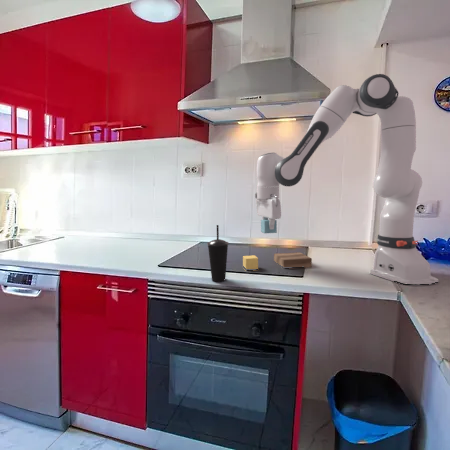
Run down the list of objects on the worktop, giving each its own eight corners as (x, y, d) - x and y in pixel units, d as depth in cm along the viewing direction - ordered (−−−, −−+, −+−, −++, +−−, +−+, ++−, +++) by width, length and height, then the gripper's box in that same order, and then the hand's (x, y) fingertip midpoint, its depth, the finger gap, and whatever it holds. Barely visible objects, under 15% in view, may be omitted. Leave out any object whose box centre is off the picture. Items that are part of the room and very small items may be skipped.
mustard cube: (258, 270, 127) (258, 258, 127) (246, 271, 126) (245, 258, 126) (254, 267, 132) (254, 255, 131) (243, 267, 131) (242, 256, 131)
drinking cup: (206, 283, 111) (205, 226, 109) (209, 277, 119) (207, 223, 116) (228, 283, 111) (227, 226, 108) (229, 276, 119) (228, 223, 116)
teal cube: (276, 232, 128) (276, 220, 128) (264, 233, 127) (264, 221, 127) (272, 231, 133) (272, 219, 133) (261, 231, 132) (260, 219, 132)
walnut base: (311, 267, 131) (311, 258, 130) (283, 269, 129) (283, 260, 128) (299, 261, 142) (299, 252, 142) (273, 262, 140) (273, 253, 140)
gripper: (285, 194, 119) (285, 230, 120) (267, 193, 139) (268, 225, 140) (268, 194, 118) (269, 231, 119) (253, 194, 138) (254, 226, 139)
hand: (268, 228), depth 130 cm, fingers closed on teal cube, 5 cm apart
